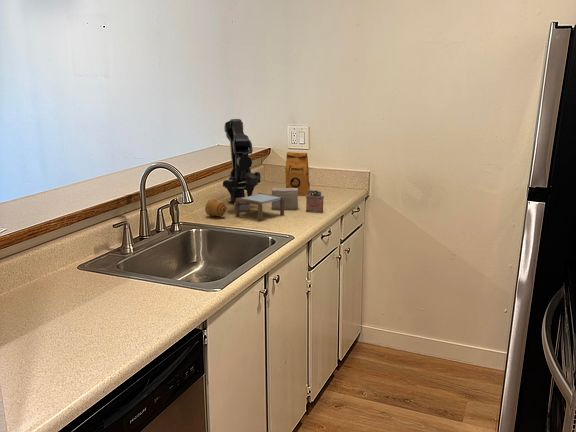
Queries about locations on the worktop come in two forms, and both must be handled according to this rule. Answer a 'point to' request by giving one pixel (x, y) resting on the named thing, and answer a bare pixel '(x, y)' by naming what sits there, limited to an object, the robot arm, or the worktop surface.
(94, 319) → the worktop surface
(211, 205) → the ornamental finial
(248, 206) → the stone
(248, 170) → the robot arm
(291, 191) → the grey block
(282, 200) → the stand
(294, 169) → the coffee package
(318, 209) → the lighter
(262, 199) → the trapdoor
